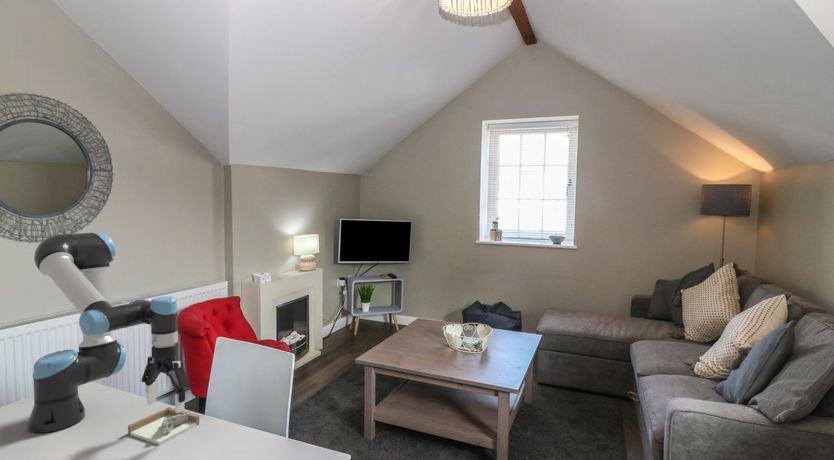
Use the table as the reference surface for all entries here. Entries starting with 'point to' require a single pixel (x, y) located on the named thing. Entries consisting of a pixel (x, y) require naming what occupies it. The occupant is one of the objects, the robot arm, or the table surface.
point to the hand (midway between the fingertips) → (165, 407)
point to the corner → (153, 423)
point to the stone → (173, 422)
